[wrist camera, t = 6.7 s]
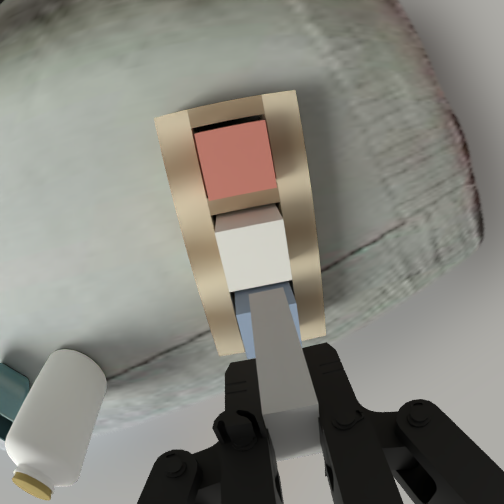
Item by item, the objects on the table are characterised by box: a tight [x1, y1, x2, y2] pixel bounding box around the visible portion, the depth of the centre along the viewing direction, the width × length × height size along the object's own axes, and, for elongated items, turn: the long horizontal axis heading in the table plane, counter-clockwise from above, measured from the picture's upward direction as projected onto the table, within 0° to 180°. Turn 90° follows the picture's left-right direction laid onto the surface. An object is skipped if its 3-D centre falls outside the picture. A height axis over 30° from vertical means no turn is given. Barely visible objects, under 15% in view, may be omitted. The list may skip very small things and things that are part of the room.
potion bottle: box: [5, 349, 107, 500], centre depth 26 cm, size 8×8×18 cm
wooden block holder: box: [154, 90, 326, 356], centre depth 26 cm, size 21×10×4 cm, turn 11°
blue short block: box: [235, 281, 302, 359], centre depth 27 cm, size 4×4×5 cm
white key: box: [215, 203, 292, 292], centre depth 24 cm, size 4×4×5 cm
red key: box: [194, 120, 277, 201], centre depth 22 cm, size 4×4×5 cm
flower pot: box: [0, 363, 29, 441], centre depth 30 cm, size 9×9×9 cm
